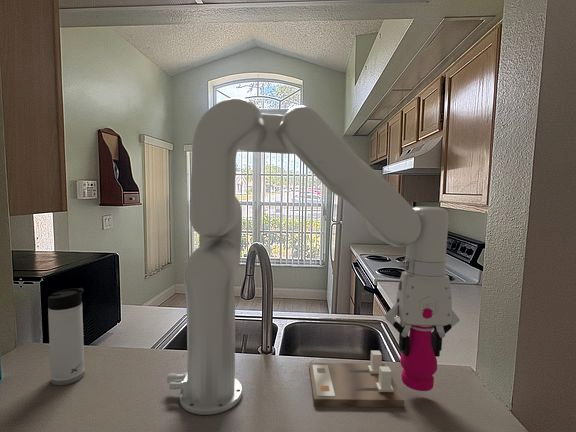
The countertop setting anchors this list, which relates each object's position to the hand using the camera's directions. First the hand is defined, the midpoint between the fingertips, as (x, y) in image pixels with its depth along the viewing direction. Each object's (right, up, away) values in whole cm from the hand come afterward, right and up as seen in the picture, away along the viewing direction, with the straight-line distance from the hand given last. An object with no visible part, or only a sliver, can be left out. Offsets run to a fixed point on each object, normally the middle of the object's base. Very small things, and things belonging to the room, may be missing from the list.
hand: (419, 352), depth 71 cm
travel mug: (-76, -8, +5) cm, 77 cm away
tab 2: (-7, -8, +1) cm, 11 cm away
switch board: (-13, -9, +4) cm, 17 cm away
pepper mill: (0, -7, +1) cm, 7 cm away
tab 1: (-7, -7, +8) cm, 13 cm away
